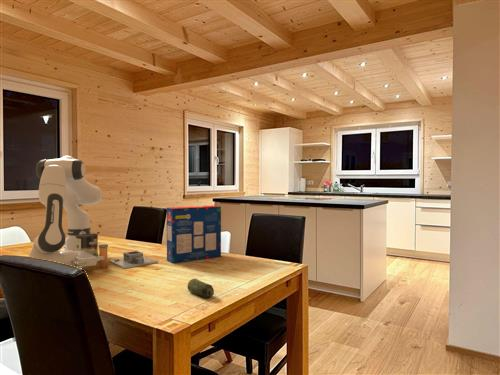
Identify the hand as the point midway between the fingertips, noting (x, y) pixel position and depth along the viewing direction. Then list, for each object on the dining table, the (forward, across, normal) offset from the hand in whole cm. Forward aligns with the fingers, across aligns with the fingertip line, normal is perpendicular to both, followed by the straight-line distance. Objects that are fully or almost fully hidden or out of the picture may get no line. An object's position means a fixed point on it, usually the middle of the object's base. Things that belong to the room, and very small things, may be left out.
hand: (100, 255), depth 166 cm
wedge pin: (+2, 0, +6) cm, 6 cm away
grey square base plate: (+16, 0, +6) cm, 18 cm away
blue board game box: (+44, -14, +6) cm, 47 cm away
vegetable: (+13, -65, +6) cm, 67 cm away
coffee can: (0, +17, +6) cm, 18 cm away
